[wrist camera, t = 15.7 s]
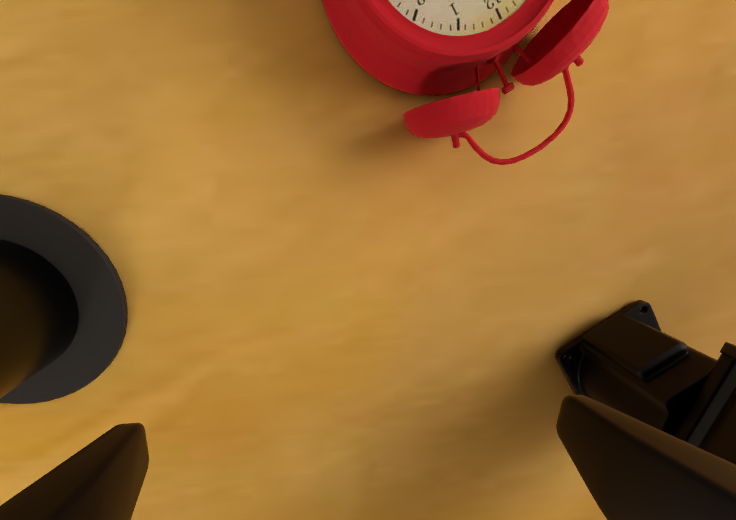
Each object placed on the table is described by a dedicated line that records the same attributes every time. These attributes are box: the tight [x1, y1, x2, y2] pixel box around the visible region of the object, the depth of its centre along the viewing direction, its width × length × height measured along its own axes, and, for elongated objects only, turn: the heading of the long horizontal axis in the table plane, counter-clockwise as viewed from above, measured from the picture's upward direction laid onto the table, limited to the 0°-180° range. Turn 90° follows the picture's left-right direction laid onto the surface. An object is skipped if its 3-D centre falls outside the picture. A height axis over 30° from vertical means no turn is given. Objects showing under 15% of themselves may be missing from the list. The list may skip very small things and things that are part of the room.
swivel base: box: [0, 195, 127, 404], centre depth 18 cm, size 11×11×1 cm
